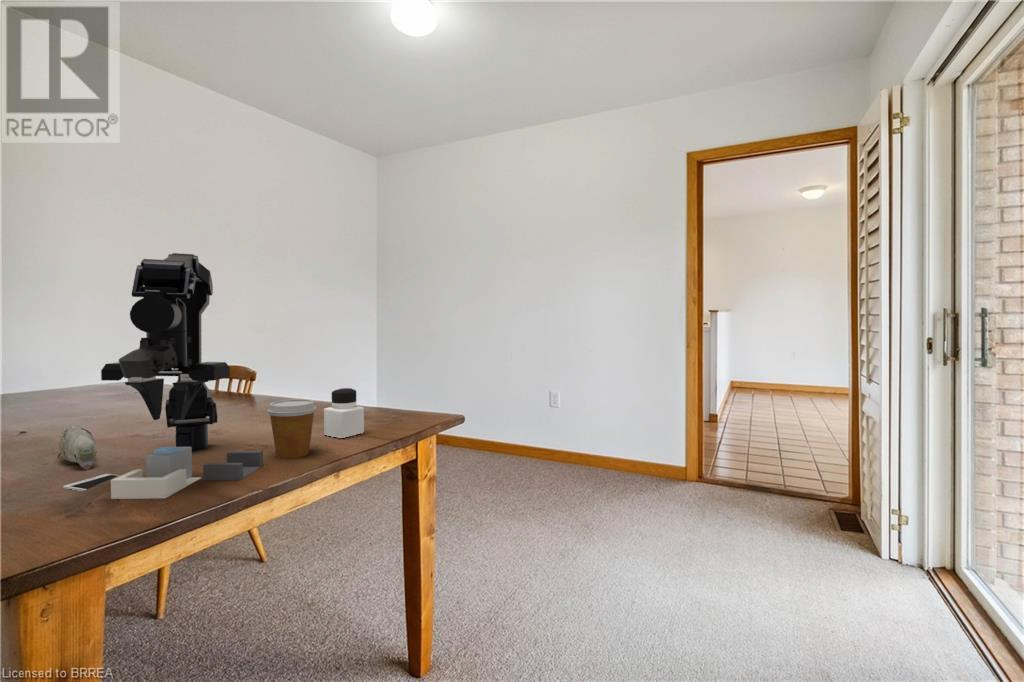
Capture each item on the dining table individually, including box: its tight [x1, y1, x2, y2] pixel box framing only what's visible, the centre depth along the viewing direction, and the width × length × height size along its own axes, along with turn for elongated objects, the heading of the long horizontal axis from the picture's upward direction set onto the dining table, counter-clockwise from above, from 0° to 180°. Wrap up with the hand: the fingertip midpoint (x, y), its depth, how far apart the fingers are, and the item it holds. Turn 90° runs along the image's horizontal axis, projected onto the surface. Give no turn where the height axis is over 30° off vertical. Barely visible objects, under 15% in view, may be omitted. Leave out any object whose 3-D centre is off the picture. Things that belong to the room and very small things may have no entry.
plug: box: [145, 446, 193, 479], centre depth 85 cm, size 6×4×6 cm, turn 3°
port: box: [110, 468, 203, 500], centre depth 82 cm, size 10×8×4 cm
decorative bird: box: [57, 421, 97, 471], centre depth 98 cm, size 5×16×7 cm, turn 51°
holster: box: [202, 450, 264, 481], centre depth 90 cm, size 9×6×4 cm
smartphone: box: [62, 473, 120, 492], centre depth 84 cm, size 7×15×1 cm, turn 73°
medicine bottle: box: [323, 387, 365, 439], centre depth 123 cm, size 7×7×12 cm
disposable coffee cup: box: [267, 398, 317, 459], centre depth 102 cm, size 10×10×12 cm
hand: (168, 419), depth 84 cm, fingers open, 4 cm apart
